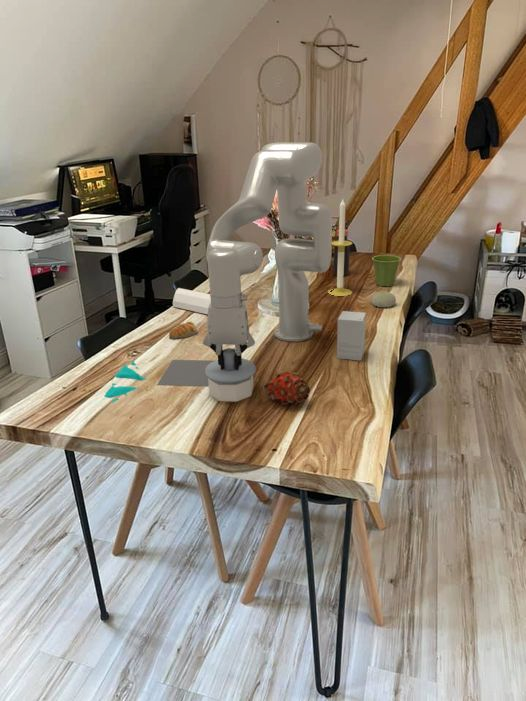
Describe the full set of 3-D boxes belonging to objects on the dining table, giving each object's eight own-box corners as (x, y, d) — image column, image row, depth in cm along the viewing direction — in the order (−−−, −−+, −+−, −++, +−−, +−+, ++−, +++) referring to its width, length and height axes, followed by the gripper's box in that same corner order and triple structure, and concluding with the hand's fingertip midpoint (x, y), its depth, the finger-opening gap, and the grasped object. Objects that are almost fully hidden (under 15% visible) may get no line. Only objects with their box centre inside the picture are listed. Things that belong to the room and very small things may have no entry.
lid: (258, 360, 139) (257, 341, 137) (252, 383, 128) (251, 362, 125) (210, 359, 141) (209, 340, 138) (200, 382, 129) (198, 361, 127)
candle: (357, 293, 209) (362, 197, 194) (338, 298, 204) (342, 200, 188) (340, 287, 217) (343, 194, 201) (322, 292, 211) (324, 197, 196)
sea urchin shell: (368, 303, 192) (371, 284, 194) (370, 312, 199) (373, 294, 201) (393, 305, 189) (396, 286, 191) (394, 315, 196) (397, 296, 198)
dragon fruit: (312, 412, 129) (268, 410, 134) (317, 382, 133) (274, 381, 138) (302, 397, 122) (256, 396, 127) (308, 366, 127) (263, 366, 131)
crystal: (164, 299, 198) (213, 309, 185) (175, 285, 201) (223, 295, 188) (173, 312, 203) (220, 323, 191) (183, 298, 206) (230, 309, 194)
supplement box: (364, 351, 158) (367, 312, 153) (361, 361, 151) (363, 321, 146) (340, 348, 160) (342, 310, 155) (335, 358, 154) (337, 318, 148)
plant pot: (402, 282, 220) (405, 256, 216) (393, 290, 211) (395, 263, 207) (376, 279, 226) (378, 253, 222) (366, 286, 217) (367, 259, 213)
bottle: (333, 272, 237) (334, 228, 229) (348, 272, 236) (350, 228, 228) (333, 277, 231) (334, 231, 223) (348, 277, 230) (350, 231, 222)
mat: (225, 362, 154) (225, 360, 153) (214, 387, 139) (214, 386, 139) (172, 360, 155) (172, 359, 155) (156, 386, 141) (156, 384, 141)
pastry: (177, 342, 169) (175, 331, 168) (164, 337, 174) (163, 326, 172) (199, 333, 175) (198, 323, 174) (187, 329, 180) (186, 318, 178)
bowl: (255, 382, 141) (254, 366, 139) (249, 403, 131) (248, 385, 129) (215, 381, 142) (214, 365, 140) (206, 401, 132) (205, 384, 130)
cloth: (129, 410, 131) (127, 402, 130) (80, 406, 134) (78, 398, 133) (167, 366, 154) (167, 359, 153) (125, 363, 157) (124, 356, 156)
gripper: (261, 295, 129) (263, 361, 136) (196, 294, 131) (202, 360, 138) (257, 305, 122) (260, 374, 130) (189, 304, 124) (195, 373, 131)
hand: (230, 366), depth 134 cm, fingers closed on lid, 3 cm apart
